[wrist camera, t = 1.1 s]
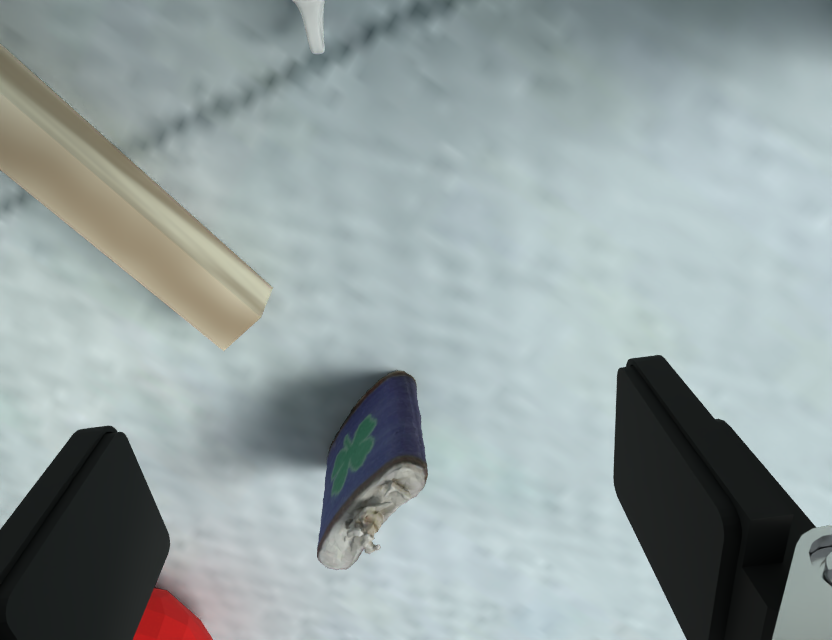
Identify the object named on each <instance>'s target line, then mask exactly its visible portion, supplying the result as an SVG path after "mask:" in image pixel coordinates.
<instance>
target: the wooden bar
mask: <svg viewBox="0 0 832 640" xmlns="http://www.w3.org/2000/svg"><path fill="white" fill-rule="evenodd" d="M0 170H1V171H2V172H4V173H5V174H6V175H7V176H9V177H10V178H11V179H12V180H13V181H15V182H16V183H17V184H18V185H20V186H21V187H22V188H23V189H25V190H26V191H27V192H28V193H30V194H31V195H32V196H33V197H34V198H36V199H37V200H38V201H39V202H41V203H42V204H43V205H44V206H46V207H47V208H48V209H49V210H50V211H52V212H53V213H54V214H55V215H57V216H58V217H59V218H60V219H62V220H63V221H64V222H65V223H67V224H68V225H69V226H70V227H71V228H73V229H74V230H75V231H76V232H78V233H79V234H80V235H81V236H83V237H84V238H85V239H86V240H87V241H89V242H90V243H91V244H92V245H94V246H95V247H96V248H97V249H99V250H100V251H101V252H102V253H103V254H105V255H106V256H107V257H108V258H110V259H111V260H112V261H113V262H115V263H116V264H117V265H118V266H120V267H121V268H122V269H123V270H124V271H126V272H127V273H128V274H129V275H131V276H132V277H133V278H134V279H136V280H137V281H138V282H139V283H140V284H142V285H143V286H144V287H145V288H147V289H148V290H149V291H150V292H152V293H153V294H154V295H155V296H157V297H158V298H159V299H160V300H161V301H163V302H164V303H165V304H166V305H168V306H169V307H170V308H171V309H173V310H174V311H175V312H176V313H177V314H179V315H180V316H181V317H182V318H184V319H185V320H186V321H187V322H189V323H190V324H191V325H192V326H194V327H195V328H196V329H197V330H198V331H200V332H201V333H202V334H203V335H205V336H206V337H207V338H208V339H210V340H211V341H212V342H213V343H214V344H216V345H217V346H218V347H219V348H221V349H222V350H223V351H224V350H225V349H227V348H228V347H229V346H230V345H231V344H232V343H233V342H234V341H235V340H237V339H238V338H239V337H240V336H241V335H242V334H243V333H244V332H245V331H246V330H248V329H249V328H250V327H251V326H252V325H253V324H254V323H255V322H256V321H258V320H259V319H260V318H261V316H262V313H263V311H264V308H265V306H266V304H267V301H268V299H269V296H270V294H271V291H272V289H273V288H272V287H271V286H270V285H269V284H268V283H267V282H266V281H265V280H263V279H262V278H261V277H260V276H259V275H258V274H257V273H256V272H255V271H253V270H252V269H251V268H250V267H249V266H248V265H247V264H246V263H244V262H243V261H242V260H241V259H240V258H239V257H238V256H237V255H236V254H234V253H233V252H232V251H231V250H230V249H229V248H228V247H227V246H225V245H224V244H223V243H222V242H221V241H220V240H219V239H218V238H217V237H215V236H214V235H213V234H212V233H211V232H210V231H209V230H208V229H207V228H205V227H204V226H203V225H202V224H201V223H200V222H199V221H198V220H196V219H195V218H194V217H193V216H192V215H191V214H190V213H189V212H188V211H186V210H185V209H184V208H183V207H182V206H181V205H180V204H179V203H177V202H176V201H175V200H174V199H173V198H172V197H171V196H170V195H169V194H167V193H166V192H165V191H164V190H163V189H162V188H161V187H160V186H159V185H157V184H156V183H155V182H154V181H153V180H152V179H151V178H150V177H148V176H147V175H146V174H145V173H144V172H143V171H142V170H141V169H140V168H138V167H137V166H136V165H135V164H134V163H133V162H132V161H131V160H129V159H128V158H127V157H126V156H125V155H124V154H123V153H122V152H121V151H119V150H118V149H117V148H116V147H115V146H114V145H113V144H112V143H110V142H109V141H108V140H107V139H106V138H105V137H104V136H103V135H102V134H100V133H99V132H98V131H97V130H96V129H95V128H94V127H93V126H92V125H90V124H89V123H88V122H87V121H86V120H85V119H84V118H83V117H81V116H80V115H79V114H78V113H77V112H76V111H75V110H74V109H73V108H71V107H70V106H69V105H68V104H67V103H66V102H65V101H64V100H62V99H61V98H60V97H59V96H58V95H57V94H56V93H55V92H54V91H52V90H51V89H50V88H49V87H48V86H47V85H46V84H45V83H44V82H42V81H41V80H40V79H39V78H38V77H37V76H36V75H35V74H33V73H32V72H31V71H30V70H29V69H28V68H27V67H26V66H25V65H23V64H22V63H21V62H20V61H19V60H18V59H17V58H16V57H14V56H13V55H12V54H11V53H10V52H9V51H8V50H7V49H6V48H4V47H3V46H2V45H1V44H0Z"/></svg>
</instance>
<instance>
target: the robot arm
mask: <svg viewBox="0 0 832 640" xmlns="http://www.w3.org/2000/svg"><path fill="white" fill-rule="evenodd" d="M614 486H615V491H616V494H617V497H618V499H619V501H620V503H621V505H622V507H623V509H624V511H625V513H626V516H627V518H628V520H629V522H630V524H631V526H632V528H633V530H634V532H635V534H636V536H637V538H638V540H639V542H640V544H641V546H642V548H643V551H644V553H645V555H646V557H647V559H648V561H649V563H650V565H651V567H652V569H653V571H654V573H655V575H656V577H657V579H658V581H659V583H660V586H661V588H662V590H663V592H664V594H665V596H666V598H667V600H668V602H669V604H670V606H671V608H672V610H673V612H674V614H675V616H676V618H677V621H678V623H679V625H680V627H681V629H682V631H683V633H684V635H685V637H686V639H687V640H832V526H823V527H818V528H816V527H815V525H814V524H813V523H812V522H811V521H810V520H809V518H808V517H807V516H806V515H805V514H804V512H803V511H802V510H801V509H800V508H799V507H798V505H797V504H796V503H795V502H794V501H793V500H792V498H791V497H790V496H789V495H788V494H787V492H786V491H785V490H784V489H783V488H782V487H781V485H780V484H779V483H778V482H777V481H776V480H775V478H774V477H773V476H772V475H771V474H770V473H769V471H768V470H767V469H766V468H765V467H764V465H763V464H762V463H761V462H760V461H759V460H758V458H757V457H756V456H755V455H754V454H753V453H752V451H751V450H750V449H749V448H748V447H747V445H746V444H745V443H744V442H743V441H742V440H741V438H740V437H739V436H738V435H737V434H736V433H735V431H734V430H733V429H732V428H731V427H730V426H729V425H728V424H727V423H726V422H725V421H723V420H720V419H714V418H713V416H712V415H711V414H710V413H709V412H708V410H707V409H706V408H705V407H704V406H703V404H702V403H701V402H700V401H699V399H698V398H697V397H696V396H695V395H694V393H693V392H692V391H691V390H690V389H689V387H688V386H687V385H686V384H685V383H684V381H683V380H682V379H681V378H680V376H679V375H678V374H677V373H676V372H675V370H674V369H673V368H672V367H671V366H670V364H669V363H668V362H667V361H666V360H665V358H664V357H662V356H661V355H655V356H648V357H640V358H632V359H629V360H628V362H627V364H626V367H623V368H619V369H618V373H617V395H616V422H615V450H614ZM169 547H170V538H169V534H168V531H167V529H166V526H165V524H164V522H163V519H162V517H161V515H160V513H159V510H158V508H157V506H156V503H155V501H154V499H153V496H152V494H151V492H150V489H149V487H148V485H147V482H146V480H145V478H144V475H143V473H142V471H141V468H140V466H139V464H138V462H137V459H136V457H135V455H134V452H133V450H132V448H131V445H130V443H129V441H128V438H127V437H126V435H125V434H124V433H122V432H117V430H116V429H115V428H114V427H112V426H102V427H95V428H87V429H80V430H77V431H76V432H75V433H74V434H73V435H72V436H71V438H70V439H69V440H68V442H67V443H66V444H65V446H64V447H63V448H62V450H61V451H60V452H59V453H58V455H57V456H56V457H55V459H54V460H53V461H52V463H51V464H50V465H49V467H48V468H47V469H46V470H45V472H44V473H43V474H42V476H41V477H40V478H39V480H38V481H37V482H36V484H35V485H34V486H33V487H32V489H31V490H30V491H29V493H28V494H27V495H26V497H25V498H24V499H23V501H22V502H21V503H20V505H19V506H18V507H17V508H16V510H15V511H14V512H13V514H12V515H11V516H10V518H9V519H8V520H7V522H6V523H5V524H4V525H3V527H2V528H1V529H0V640H133V638H134V635H135V633H136V631H137V628H138V626H139V623H140V621H141V618H142V616H143V614H144V611H145V609H146V606H147V604H148V601H149V599H150V597H151V594H152V592H153V589H154V587H155V584H156V582H157V580H158V577H159V575H160V572H161V570H162V568H163V565H164V563H165V560H166V558H167V555H168V552H169Z"/></svg>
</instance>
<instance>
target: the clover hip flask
mask: <svg viewBox="0 0 832 640" xmlns="http://www.w3.org/2000/svg"><path fill="white" fill-rule="evenodd" d="M427 476H428V470H427V463H426V459H425V447H424V443H423V438H422V430H421V415H420V411H419V407H418V400H417V386H416V382H415V379H414V378H413V377H412V376H411V375H409V374H407V373H406V372H404V371H398V370H397V371H395V372H392V373H388V375H387V376H385V377H383V378H381V379H380V380H379V381H378V382H377V383H376V384H375V385H374V386H373V387H372V388H370V390H368V391H367V392H366V394H365V395H364V396H362V397H361V399H360V400H359V401H358V403H357V404H356V406H354V407H353V409H352V410H351V413H350V415H349V416H348V418H347V419H346V421H345V422H344V423H343V425H342V427H341V428H340V431H339V432H338V434H336V436H335V439H334V441H333V442H332V444H331V447H330V450H329V453H328V457H327V470H326V477H325V491H324V498H323V509H322V516H321V527H320V533H319V542H318V547H317V558H318V560H319V561H320V562H321V563H322V564H323V565H324V566H325V567H327V568H330V569H335V570H339V569H348V568H349V567H351V566H352V565H353V564H354V563H355V562H356V561H357V560H358V558H359V556H360V554H361V552H362V551H363V549H365V552H366V553H368V554H370V553H372V552H373V551H375V550H379V549H380V545H376V546H375V545H374V544H373V543H372V540H373V539H375V538H374V534H375V533H376V532H378V530H379V528H380V527H381V525H382V524H383V523H384V522H385V521H386V520H387V519H388V517H389V516H390V515H391V514H392V513H394V512H395V511H396V510H397V509H398V508H399V507H400V506H401V505H402V504H404V503H406V502H407V501H408V500H410V499H412V498H414V497H416V496H417V495H418V494H419V492H420V491H421V490H422V489H423V488H424V486H425V484H426V480H427Z"/></svg>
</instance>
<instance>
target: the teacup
mask: <svg viewBox="0 0 832 640" xmlns="http://www.w3.org/2000/svg"><path fill="white" fill-rule="evenodd" d="M292 1H293V2H294V3H295V4H296V5H297V7H298V9H299V11H300V13H301V15H302V18H303V22H304V25H305V30H306V34H307V38H308V43H309V46H310V49H311V51H312V53H314V54H321V53H323V52H324V51H325V45H324V28H323V12H324V3H325V0H292Z"/></svg>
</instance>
